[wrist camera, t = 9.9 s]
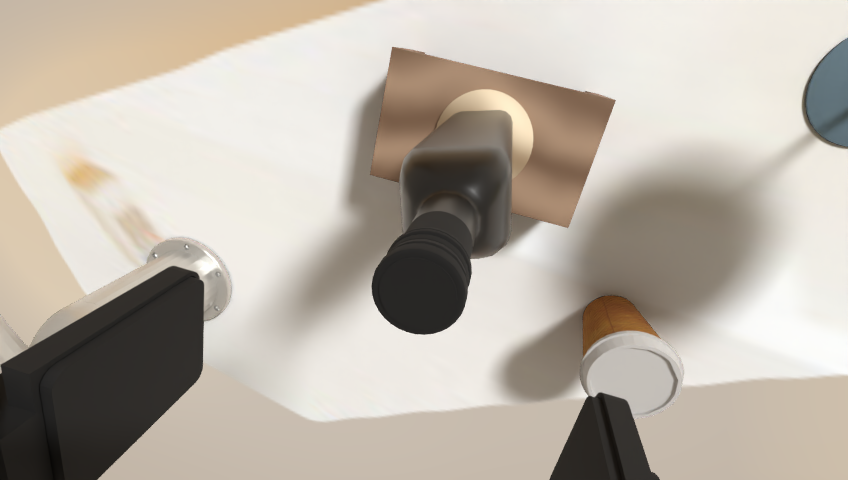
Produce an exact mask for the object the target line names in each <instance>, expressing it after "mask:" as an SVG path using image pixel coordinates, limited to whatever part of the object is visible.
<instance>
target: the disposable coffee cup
mask: <svg viewBox="0 0 848 480" xmlns="http://www.w3.org/2000/svg"><path fill="white" fill-rule="evenodd" d="M683 377H684V369H683V364H682V361H681V358H680V357H679V355H678V354H677V352H676V351H675V350H674V349H673V348H672V347H671V346H670V345H669V344H668V343H667V342H665V341H663V340H662V339H661V338H660V337H659V336H658V335H657V333H656V332H655V331H654V330H653V329H652V327H651V326H650V325H649V324H648V322H647V321H646V320H645V319H644V317H643V316H642V315H641V314H640V313H639V311H638V310H637V309H636V308H635V306H634V305H633V304H632V303H631V302H630V301H628V300H627V299H625V298H622V297H619V296H603V297H600V298H598V299H596V300H594V301H592V302H591V303H590V304H589V305H588V306H587V307H586V309H585V311H584V314H583V359H582V363H581V366H580V380H581V384H582V386H583V388H584V390H585V392H586V393H587V395H588V396H592V397H595V396H596V395H597V394H598V393H599V392H602V393H605V394H609V395H612V396H616V397H619V398H622V399H625V400H627V402H628V404H629V406H630V409H631V412H632V415H633V418H644V417H650V416H653V415H655V414H658V413H660V412H663V411H664V410H665V409H667V408H668V407H669V406H671V405H672V404H673V403H674V401H675V400H676V399H677V398H678V396H679V394H680V392H681V389H682V383H683Z"/></svg>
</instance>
